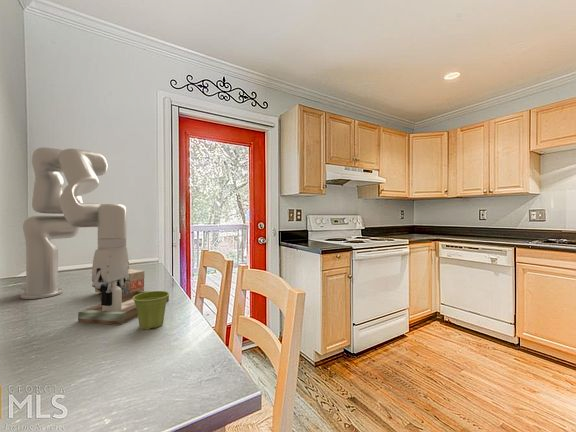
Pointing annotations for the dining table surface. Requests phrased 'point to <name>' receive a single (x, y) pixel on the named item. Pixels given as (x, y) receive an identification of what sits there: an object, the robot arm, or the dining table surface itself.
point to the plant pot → (151, 308)
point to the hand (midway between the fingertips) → (111, 302)
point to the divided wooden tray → (111, 312)
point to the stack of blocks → (132, 282)
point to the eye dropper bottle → (115, 298)
